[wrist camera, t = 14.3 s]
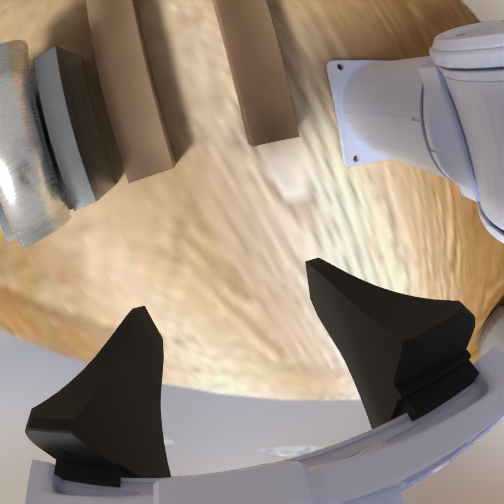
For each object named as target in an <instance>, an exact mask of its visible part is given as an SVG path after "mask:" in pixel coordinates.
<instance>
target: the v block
mask: <svg viewBox="0 0 504 504" xmlns="http://www.w3.org/2000/svg"><path fill="white" fill-rule="evenodd" d="M34 65H35V67H34V68H33V69H31V74H32V80H33V86H34V91H35V97H36V102H37V107H38V111H39V116H40V120H41V124H42V128H43V132H44V136H45V139H46V143H47V147H48V150H49V153H50V157H51V160H52V163H53V166H54V169H55V172H56V175H57V178H58V181H59V184H60V187H61V190H62V192H63V195H64V198H65V200H66V203H67V206H68V208H69V210H70V209H74V211H75V210H77V209H80V208H82V207H85V206H87V205H89V204H92V203H94V202H96V201H98V200H99V199H100V198H101V197H102V196H103V195H104V194H106V193H107V192H108V191H109V190H110V189H111V188H113V187H114V186H115V185H116V183H115V180H114V177H113V174H112V171H111V168H110V165H109V161H108V158H107V155H106V152H105V149H104V145H103V142H102V139H101V135H100V132H99V128H98V124H97V121H96V117H95V113H94V109H93V105H92V101H91V97H90V93H89V89H88V84H87V80H86V75H85V70H84V65H83V60H82V57H80V56H78V55H76V54H73V53H71V52H69V51H66V50H64V49H61V48H59V47H56V46H55V47H53V48H51V49H50V50H48V51H46V52H45V53H43V54H42V55H40V56H38V57H37V58H35V59H34ZM0 225H1V227H2V229H3V232H4V234H5V236H6V239H7V241H8V242H10V241H12V240H14V239H15V236H14V234H13V232H12V230H11V227H10V225H9V222H8V220H7V218H6V215H5V212H4V210H3V207H2V205H1V202H0Z"/></svg>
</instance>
